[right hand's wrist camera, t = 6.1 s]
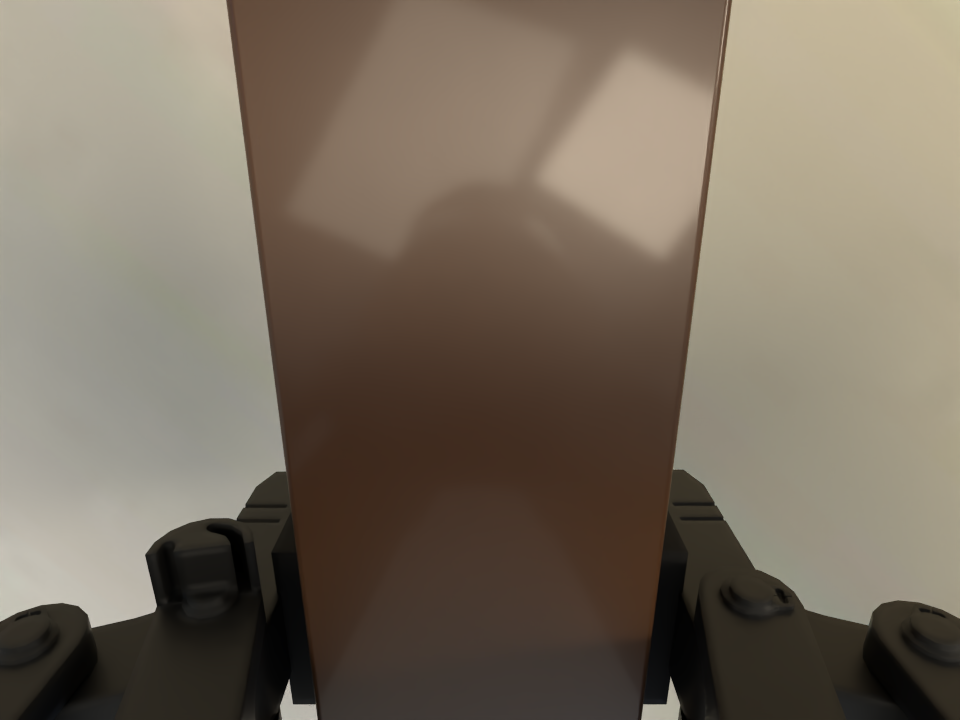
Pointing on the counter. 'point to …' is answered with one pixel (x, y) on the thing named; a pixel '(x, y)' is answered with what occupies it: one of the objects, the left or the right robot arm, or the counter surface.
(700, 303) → the counter surface
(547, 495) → the plank
